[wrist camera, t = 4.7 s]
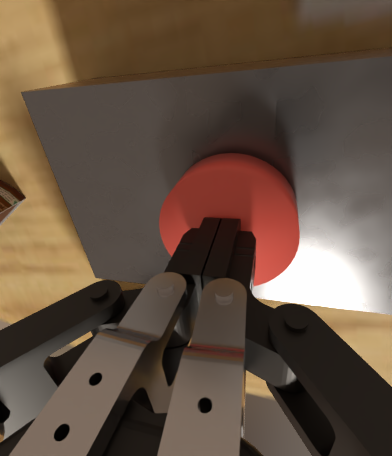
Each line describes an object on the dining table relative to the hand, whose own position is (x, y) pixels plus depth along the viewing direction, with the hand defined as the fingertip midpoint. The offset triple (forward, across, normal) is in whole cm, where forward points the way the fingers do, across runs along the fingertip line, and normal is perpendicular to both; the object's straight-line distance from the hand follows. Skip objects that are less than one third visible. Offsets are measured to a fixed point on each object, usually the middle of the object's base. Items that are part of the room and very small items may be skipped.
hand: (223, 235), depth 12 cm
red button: (+7, 0, 0) cm, 7 cm away
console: (+8, 0, 0) cm, 8 cm away
